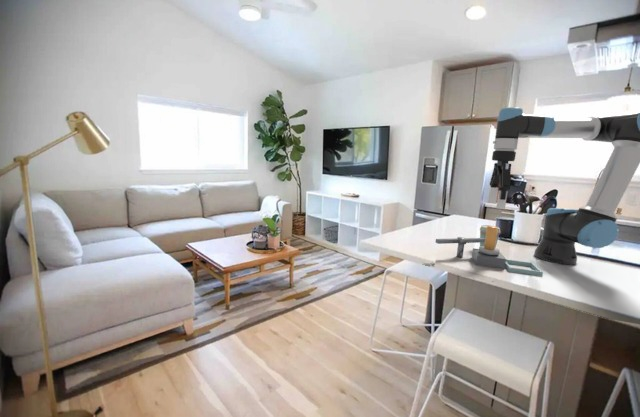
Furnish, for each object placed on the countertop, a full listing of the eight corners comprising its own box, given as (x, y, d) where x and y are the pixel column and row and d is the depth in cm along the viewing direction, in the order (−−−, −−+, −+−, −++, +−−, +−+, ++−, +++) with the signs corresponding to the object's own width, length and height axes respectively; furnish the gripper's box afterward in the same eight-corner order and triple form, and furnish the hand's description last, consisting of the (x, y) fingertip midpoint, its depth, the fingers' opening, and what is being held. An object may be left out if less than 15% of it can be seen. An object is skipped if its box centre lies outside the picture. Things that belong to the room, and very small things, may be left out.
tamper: (495, 261, 124) (500, 226, 121) (499, 267, 117) (505, 230, 115) (476, 258, 126) (480, 224, 124) (478, 264, 120) (484, 227, 117)
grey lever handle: (479, 255, 133) (482, 236, 131) (485, 258, 129) (488, 238, 128) (432, 258, 127) (434, 237, 125) (437, 260, 123) (440, 240, 122)
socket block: (497, 262, 126) (499, 251, 125) (504, 271, 116) (506, 259, 115) (452, 256, 131) (453, 245, 130) (455, 264, 121) (456, 252, 120)
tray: (531, 268, 121) (532, 262, 120) (541, 278, 111) (543, 272, 110) (500, 264, 124) (501, 258, 124) (508, 273, 114) (509, 267, 113)
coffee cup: (500, 255, 136) (504, 229, 134) (479, 253, 137) (483, 228, 135) (493, 250, 144) (497, 225, 142) (474, 248, 146) (477, 224, 144)
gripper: (486, 150, 127) (479, 200, 131) (502, 148, 104) (492, 209, 107) (506, 151, 125) (498, 202, 128) (527, 149, 101) (516, 211, 105)
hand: (496, 205), depth 118 cm, fingers open, 13 cm apart
